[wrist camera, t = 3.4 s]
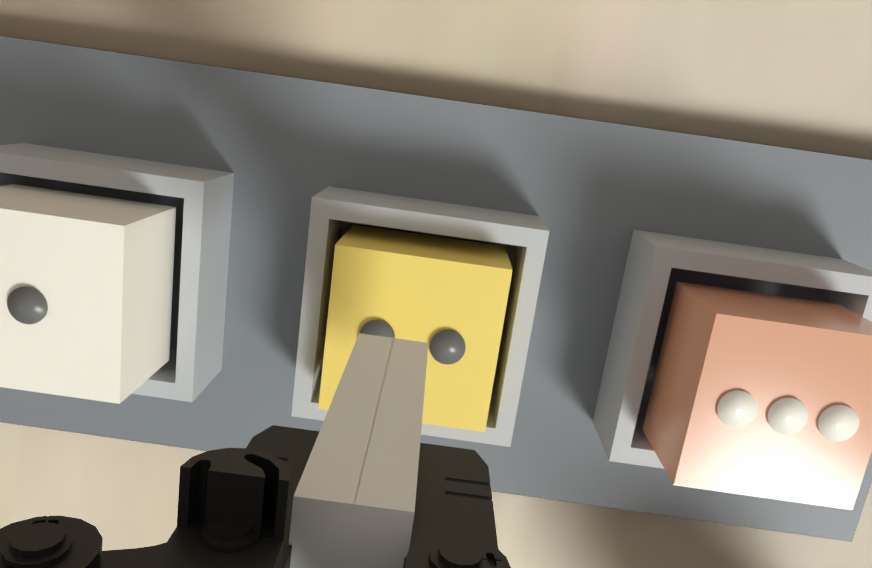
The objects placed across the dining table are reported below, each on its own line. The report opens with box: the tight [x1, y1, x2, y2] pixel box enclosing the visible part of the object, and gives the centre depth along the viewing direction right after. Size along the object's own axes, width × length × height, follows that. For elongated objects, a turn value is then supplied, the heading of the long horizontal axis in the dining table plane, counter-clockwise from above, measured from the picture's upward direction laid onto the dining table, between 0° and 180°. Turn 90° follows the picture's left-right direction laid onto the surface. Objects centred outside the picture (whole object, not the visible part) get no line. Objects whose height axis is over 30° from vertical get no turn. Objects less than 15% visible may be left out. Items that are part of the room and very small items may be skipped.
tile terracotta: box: [642, 281, 872, 510], centre depth 18 cm, size 4×4×3 cm
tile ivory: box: [0, 184, 176, 404], centre depth 18 cm, size 4×4×3 cm
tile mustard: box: [318, 225, 513, 432], centre depth 19 cm, size 4×4×3 cm
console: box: [0, 36, 872, 542], centre depth 21 cm, size 30×12×4 cm, turn 82°
